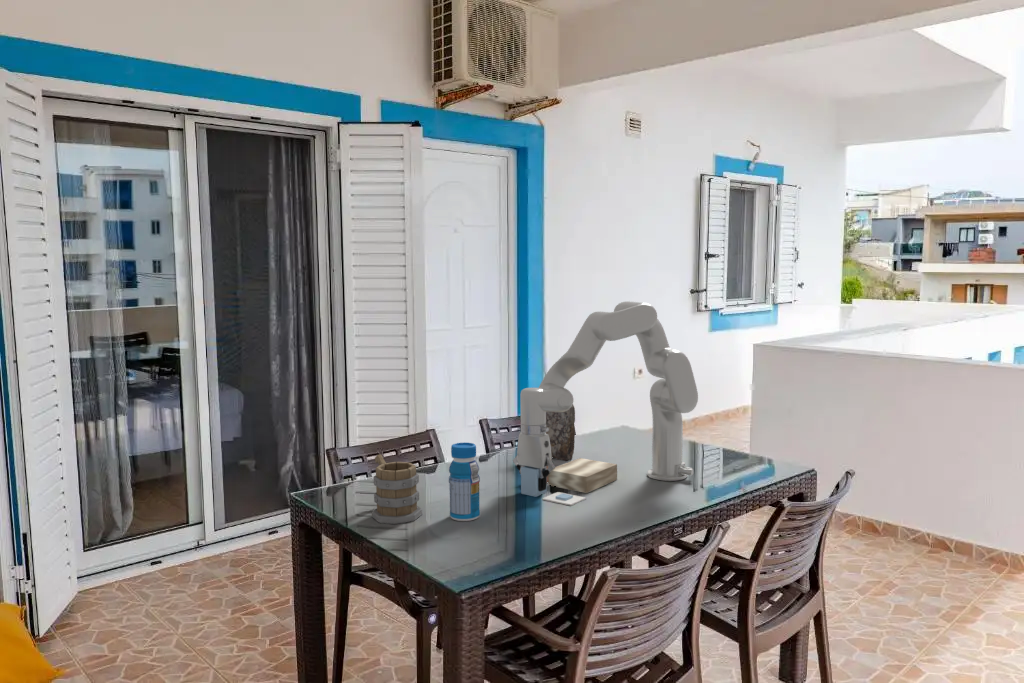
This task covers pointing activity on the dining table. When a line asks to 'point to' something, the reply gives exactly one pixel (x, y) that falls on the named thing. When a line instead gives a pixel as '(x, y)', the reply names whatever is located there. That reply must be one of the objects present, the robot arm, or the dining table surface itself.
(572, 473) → the ash base block
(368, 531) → the dining table surface
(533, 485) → the blue block
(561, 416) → the stone block
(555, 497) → the card
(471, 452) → the beverage bottle
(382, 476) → the tankard
